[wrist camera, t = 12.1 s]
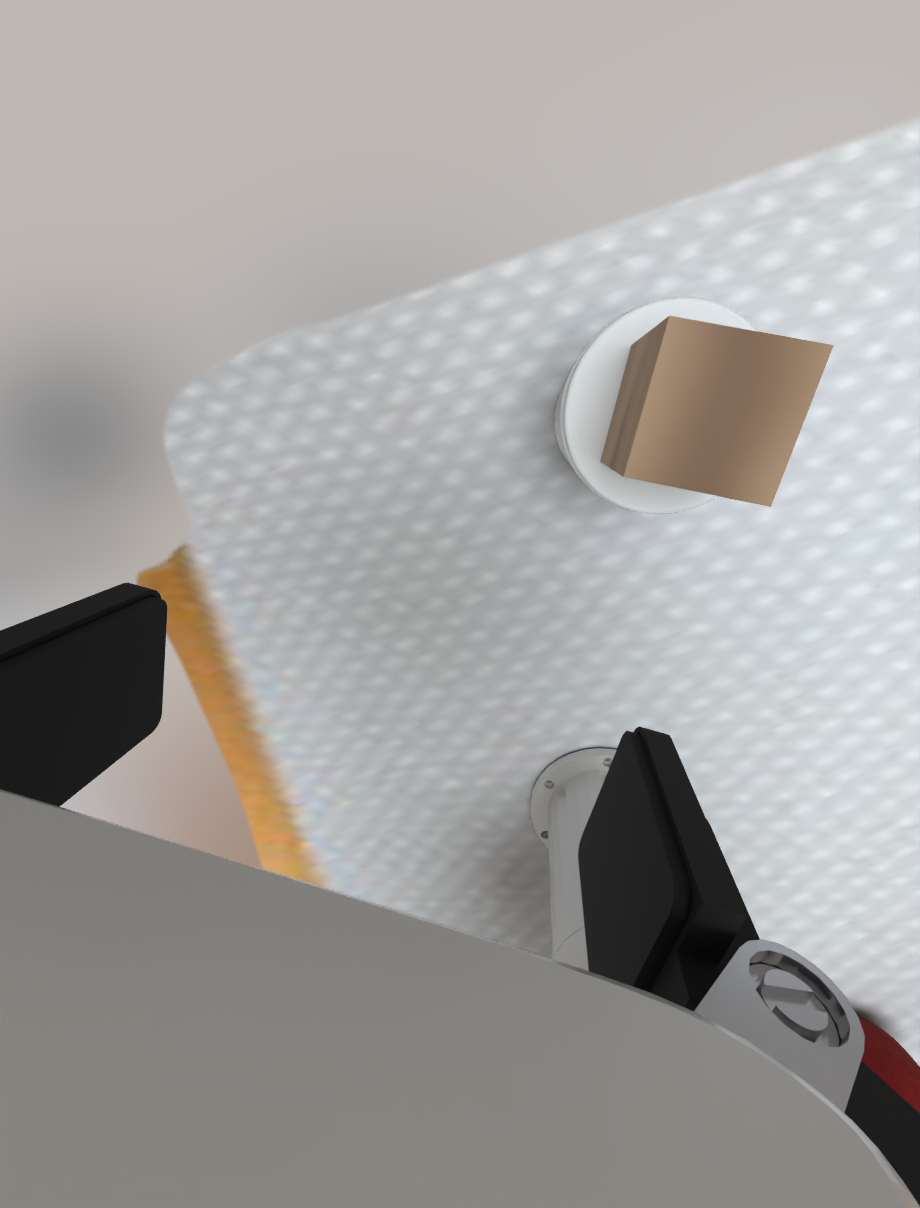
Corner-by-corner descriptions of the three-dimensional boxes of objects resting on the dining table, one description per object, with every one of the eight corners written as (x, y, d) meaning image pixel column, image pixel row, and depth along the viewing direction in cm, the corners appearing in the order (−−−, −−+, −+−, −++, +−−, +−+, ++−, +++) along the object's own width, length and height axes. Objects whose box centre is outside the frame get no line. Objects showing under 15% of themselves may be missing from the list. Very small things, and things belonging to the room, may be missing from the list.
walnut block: (747, 366, 23) (833, 345, 16) (707, 483, 25) (770, 506, 18) (631, 344, 23) (669, 315, 17) (600, 461, 25) (623, 477, 18)
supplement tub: (707, 456, 38) (807, 479, 24) (576, 504, 40) (599, 550, 26) (670, 315, 35) (758, 249, 21) (533, 374, 37) (533, 349, 24)
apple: (893, 991, 51) (975, 1120, 41) (892, 1059, 54) (968, 1195, 44) (785, 994, 53) (840, 1119, 43) (790, 1060, 55) (842, 1190, 46)
